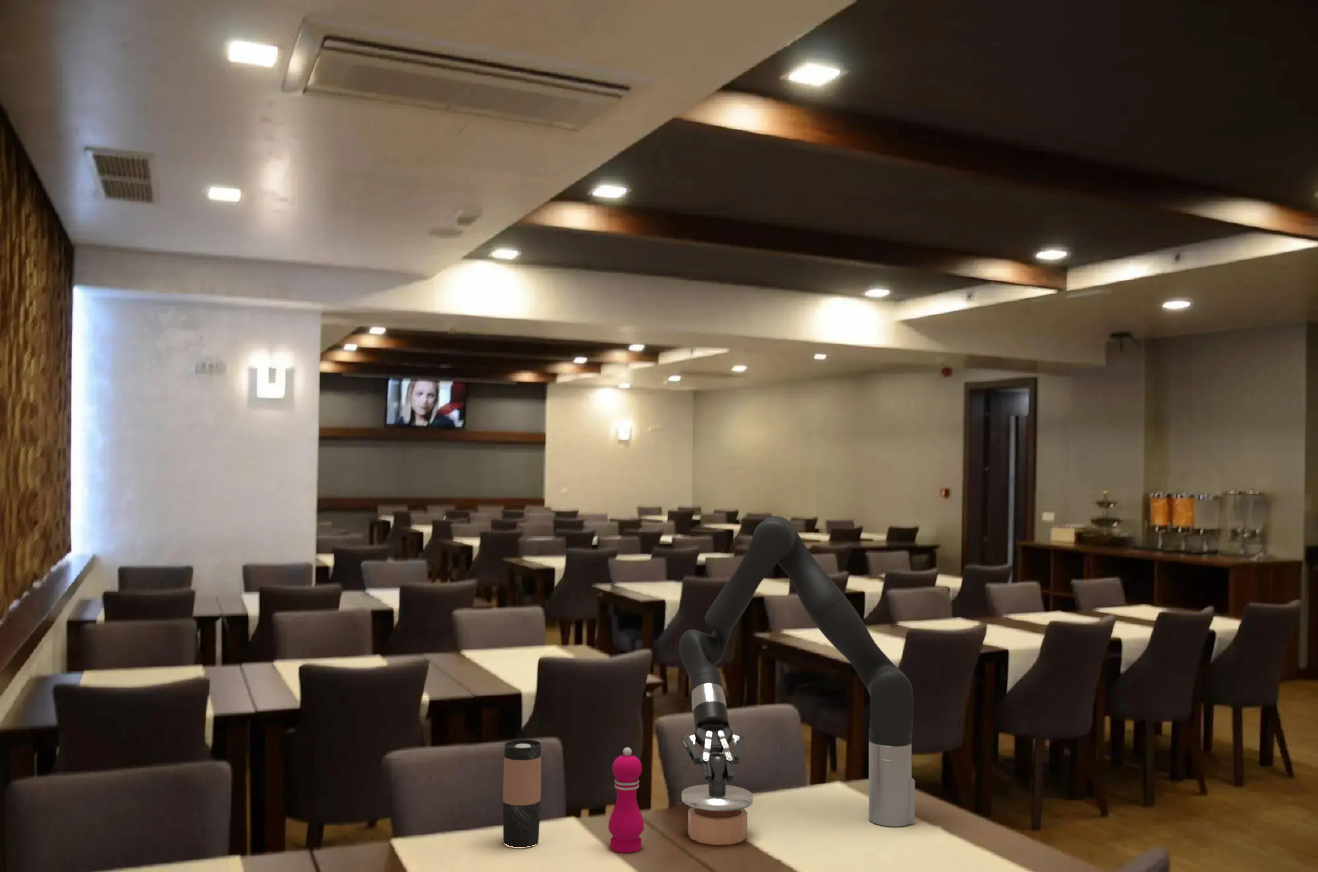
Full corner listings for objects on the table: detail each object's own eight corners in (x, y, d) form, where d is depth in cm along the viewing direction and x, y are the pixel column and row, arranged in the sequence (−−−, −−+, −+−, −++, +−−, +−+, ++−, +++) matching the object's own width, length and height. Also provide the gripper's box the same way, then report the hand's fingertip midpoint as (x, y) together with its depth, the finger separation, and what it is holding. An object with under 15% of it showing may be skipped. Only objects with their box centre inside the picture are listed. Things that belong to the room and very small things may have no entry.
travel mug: (546, 840, 217) (548, 741, 218) (526, 851, 210) (528, 749, 211) (515, 834, 220) (517, 737, 221) (494, 845, 213) (496, 745, 214)
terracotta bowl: (739, 825, 229) (739, 801, 229) (751, 843, 217) (751, 818, 217) (684, 826, 227) (684, 803, 227) (694, 845, 215) (694, 820, 215)
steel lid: (743, 788, 231) (744, 746, 231) (760, 810, 216) (761, 764, 216) (676, 790, 229) (677, 747, 229) (688, 811, 214) (689, 765, 214)
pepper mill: (645, 842, 216) (647, 743, 217) (641, 854, 209) (643, 752, 210) (610, 841, 217) (612, 742, 218) (605, 853, 210) (607, 751, 211)
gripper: (680, 699, 230) (688, 771, 217) (743, 699, 232) (755, 770, 219) (675, 719, 235) (683, 790, 222) (738, 718, 237) (749, 788, 224)
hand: (719, 779), depth 221 cm, fingers closed on steel lid, 3 cm apart
